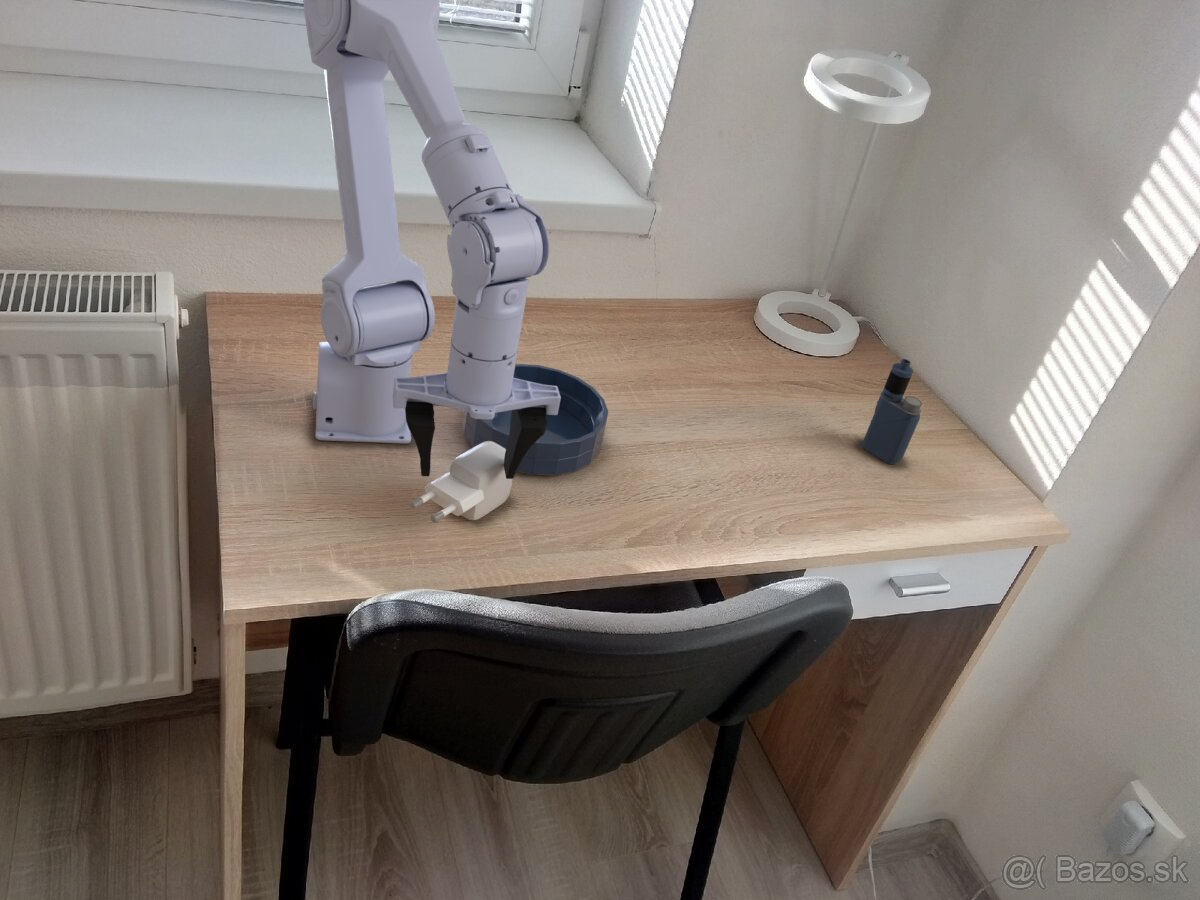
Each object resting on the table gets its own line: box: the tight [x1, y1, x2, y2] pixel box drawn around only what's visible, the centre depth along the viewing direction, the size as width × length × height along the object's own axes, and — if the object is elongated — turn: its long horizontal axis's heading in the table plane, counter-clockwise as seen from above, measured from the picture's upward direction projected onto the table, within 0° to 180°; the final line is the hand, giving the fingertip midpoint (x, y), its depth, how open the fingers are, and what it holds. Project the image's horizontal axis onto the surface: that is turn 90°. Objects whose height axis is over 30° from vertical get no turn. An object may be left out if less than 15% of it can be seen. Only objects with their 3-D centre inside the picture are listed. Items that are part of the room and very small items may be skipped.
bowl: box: [461, 363, 609, 476], centre depth 112 cm, size 15×15×4 cm
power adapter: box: [409, 441, 514, 523], centre depth 98 cm, size 11×5×6 cm, turn 144°
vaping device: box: [860, 358, 923, 465], centre depth 120 cm, size 3×5×12 cm, turn 45°
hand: (466, 471), depth 97 cm, fingers open, 7 cm apart
